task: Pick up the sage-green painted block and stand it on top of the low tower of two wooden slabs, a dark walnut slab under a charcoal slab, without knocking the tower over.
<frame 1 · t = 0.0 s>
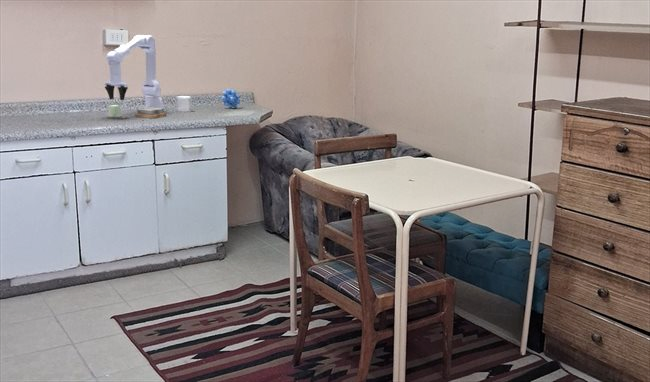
hand: (116, 99, 392), 10 cm above the countertop, tool pointing down, fingers open, 7 cm apart
tower base: (151, 117, 401), on the countertop, touching tower top
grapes: (231, 109, 439), on the countertop
green block: (114, 116, 400), on the countertop
tower top: (150, 113, 401), point 2 cm above the countertop, touching tower base
medicine box: (184, 111, 425), on the countertop
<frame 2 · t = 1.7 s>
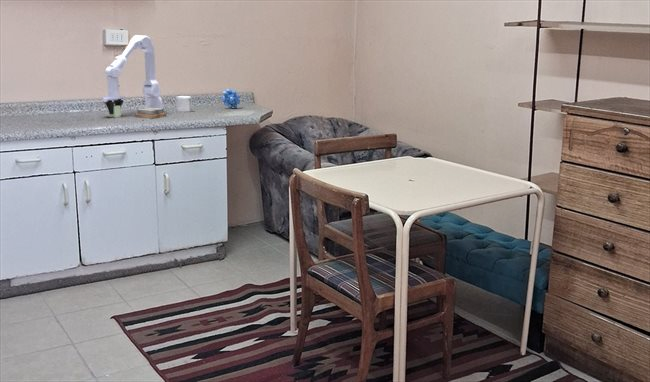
hand: (114, 113, 400), 2 cm above the countertop, tool pointing down, fingers closed on green block, 4 cm apart
green block: (114, 116, 400), on the countertop, touching gripper
everything else where it was.
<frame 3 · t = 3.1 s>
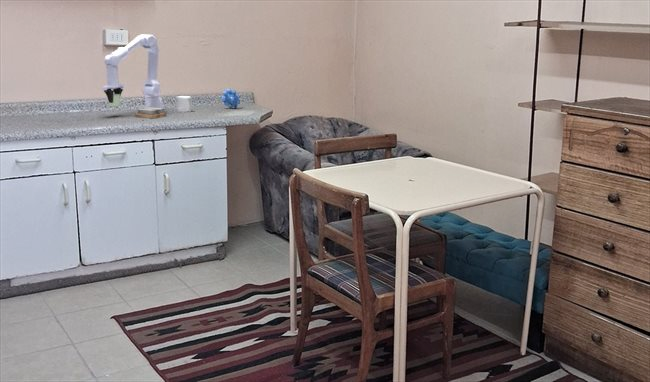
hand: (114, 102, 398), 8 cm above the countertop, tool pointing down, fingers closed on green block, 4 cm apart
green block: (114, 105, 399), point 6 cm above the countertop, touching gripper
everything else where it was.
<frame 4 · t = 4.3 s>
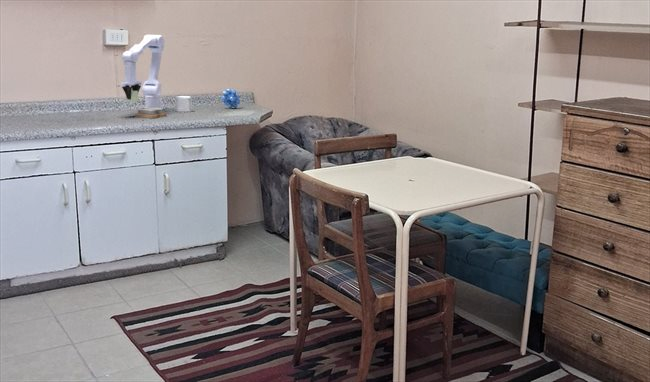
hand: (132, 98, 398), 10 cm above the countertop, tool pointing down, fingers closed on green block, 4 cm apart
green block: (132, 101, 399), point 8 cm above the countertop, touching gripper
everything else where it was.
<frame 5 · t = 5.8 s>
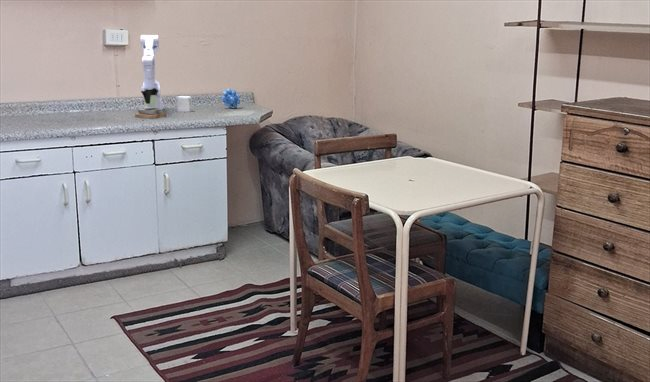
hand: (150, 103, 399), 8 cm above the countertop, tool pointing down, fingers closed on green block, 4 cm apart
green block: (150, 106, 400), point 6 cm above the countertop, touching gripper
everything else where it was.
when the fingers open (8 cm above the countertop, at t = 6.1 s): green block drops 2 cm, resting on tower top.
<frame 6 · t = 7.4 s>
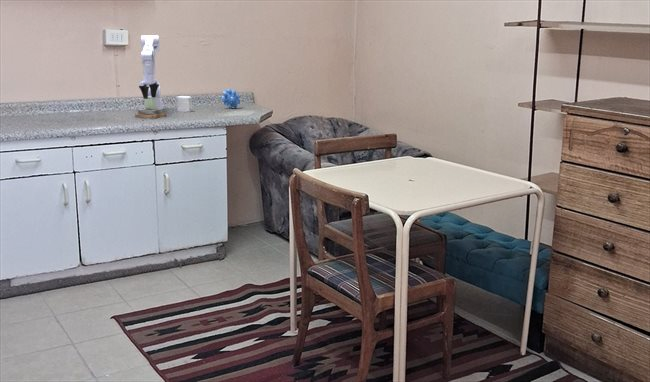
hand: (149, 97, 399), 10 cm above the countertop, tool pointing down, fingers open, 7 cm apart
tower base: (151, 118, 401), on the countertop
green block: (150, 109, 400), point 4 cm above the countertop, touching tower top
tower top: (151, 113, 401), point 2 cm above the countertop, touching green block
everything else where it was.
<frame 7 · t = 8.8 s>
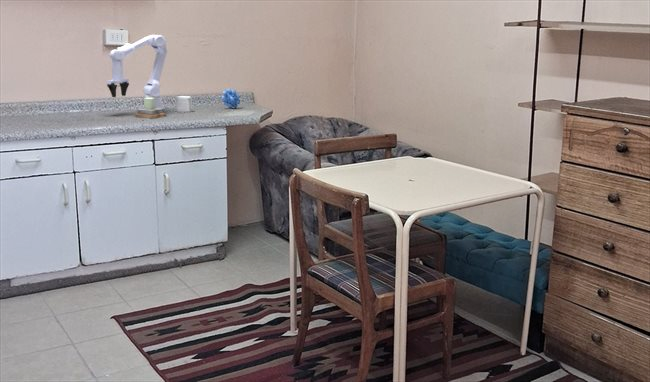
hand: (118, 96, 404), 10 cm above the countertop, tool pointing down, fingers open, 7 cm apart
tower base: (151, 118, 401), on the countertop, touching tower top
tower top: (150, 113, 401), point 2 cm above the countertop, touching green block, tower base
everything else where it was.
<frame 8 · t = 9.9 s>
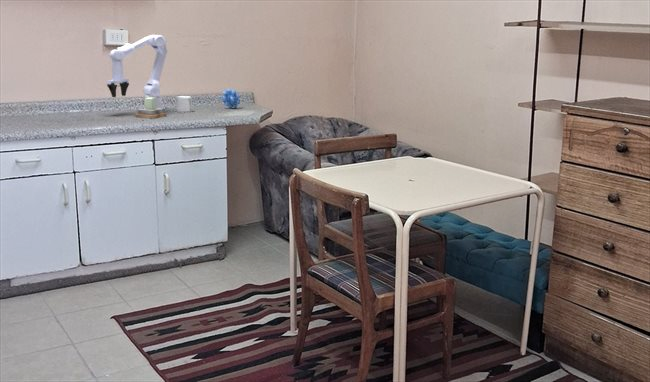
hand: (118, 96, 404), 10 cm above the countertop, tool pointing down, fingers open, 7 cm apart
green block: (150, 108, 400), point 4 cm above the countertop
tower top: (151, 113, 401), point 2 cm above the countertop, touching tower base
everything else where it was.
at the end: green block 0.4 cm off-centre on the tower top, point 2.5 cm above the tower top's base; green block tilted 0°; tower top 0.1 cm off-centre on the tower base, point 2.5 cm above the tower base's base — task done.
